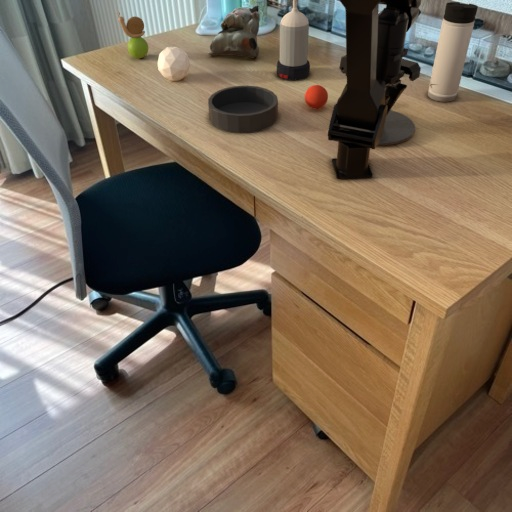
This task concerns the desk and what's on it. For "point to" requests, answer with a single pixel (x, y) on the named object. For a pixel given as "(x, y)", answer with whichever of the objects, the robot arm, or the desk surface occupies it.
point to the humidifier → (294, 46)
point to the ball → (316, 96)
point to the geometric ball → (173, 63)
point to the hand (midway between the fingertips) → (377, 122)
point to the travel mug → (451, 51)
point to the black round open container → (243, 109)
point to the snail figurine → (135, 36)
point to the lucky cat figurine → (238, 34)
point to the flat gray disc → (394, 128)
